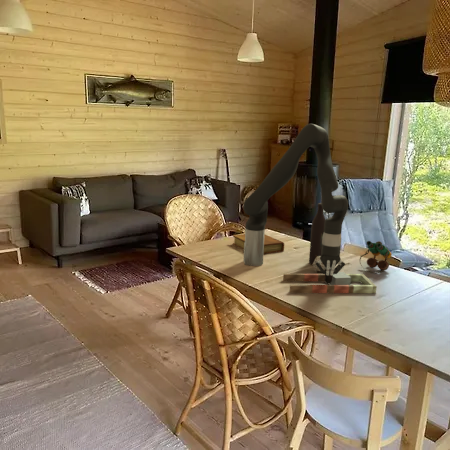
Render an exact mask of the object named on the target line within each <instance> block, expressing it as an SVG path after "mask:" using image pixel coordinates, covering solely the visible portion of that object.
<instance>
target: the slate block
mask: <svg viewBox="0 0 450 450" xmlns="http://www.w3.org/2000/svg"><path fill="white" fill-rule="evenodd" d="M347 274H348V273H346V272H344V271H339V272H338V273H337V274H333V276H332V282H331V283H330V284H329V285H352V284H351V283H352V282H351V277H350V276H348V275H347Z"/></svg>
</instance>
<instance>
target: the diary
mask: <svg viewBox="0 0 450 450" xmlns="http://www.w3.org/2000/svg"><path fill="white" fill-rule="evenodd" d="M232 236H233V238H234V241H233V243H232V245H233V246H236V247H238V249H239V248H240V249H242V250H243V251H244V243H245V233H241V234H232ZM284 251H285V243H284V242H283V241H281V240H279V239H277V238H274V237H272V236H269V235H267V234H264V254H263V255H266V254H273V253H280V252H281V253H282V252H284Z"/></svg>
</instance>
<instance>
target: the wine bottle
mask: <svg viewBox="0 0 450 450" xmlns="http://www.w3.org/2000/svg"><path fill="white" fill-rule="evenodd" d="M324 215H325V214H324V210H323V208H322V205H321V202H318V203H317V211H316V214H315V215H314V217H313V220H312V223H311V229H310V243H309V244H310V245H309V258H308V263H309V264H310V265H311V264H313V262H314V260H315V258H316V255H317V256H321V252H322V240H323V234H324V224H325V220H326V219H327V218H326V217H325V216H324Z"/></svg>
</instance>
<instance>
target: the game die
mask: <svg viewBox="0 0 450 450" xmlns="http://www.w3.org/2000/svg"><path fill="white" fill-rule="evenodd" d="M320 257H321V256H317V255H316V258H315V260H314V262H313V264H310V265H311V266H313V267H314V268H315V270H316V271H317V273H316V274H319V272H321V271H320V270H319V268H318V267H317V265H316V264H315V261H318V260H319V259H320ZM320 266H321V267H322V268H323V270H325V267H324V265H323V263H322V262H321V265H320ZM321 273H322V272H321Z"/></svg>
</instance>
